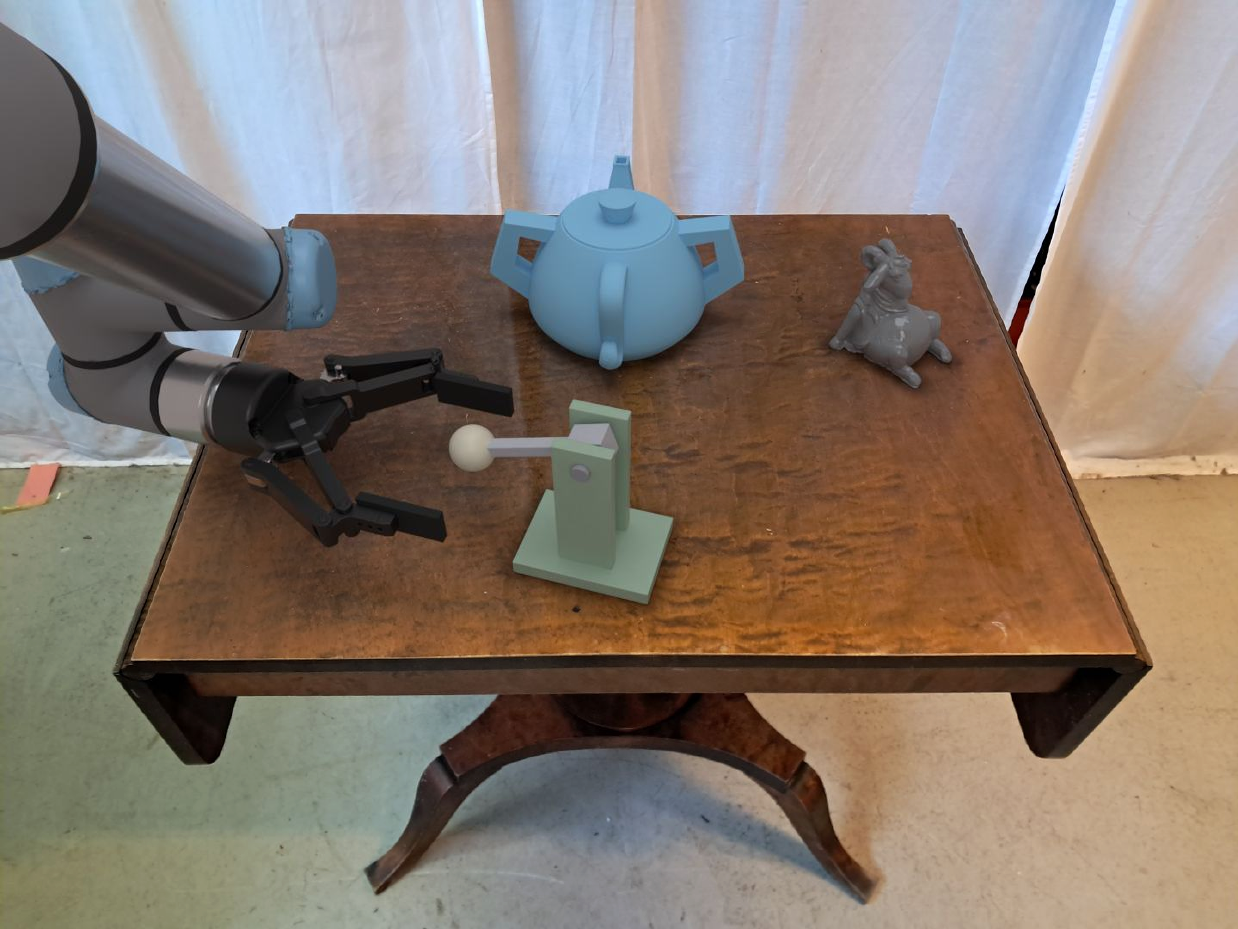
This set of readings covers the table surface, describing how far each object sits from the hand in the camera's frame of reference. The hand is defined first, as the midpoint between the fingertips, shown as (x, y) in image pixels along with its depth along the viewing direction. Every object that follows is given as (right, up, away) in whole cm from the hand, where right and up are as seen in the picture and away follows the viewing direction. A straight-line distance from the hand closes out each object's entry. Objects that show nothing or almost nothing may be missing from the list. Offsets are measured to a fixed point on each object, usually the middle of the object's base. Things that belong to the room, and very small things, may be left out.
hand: (479, 461), depth 72 cm
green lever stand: (+9, -7, +4) cm, 12 cm away
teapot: (+11, +15, +25) cm, 31 cm away
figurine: (+37, +11, +21) cm, 44 cm away
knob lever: (+4, 0, -2) cm, 5 cm away
